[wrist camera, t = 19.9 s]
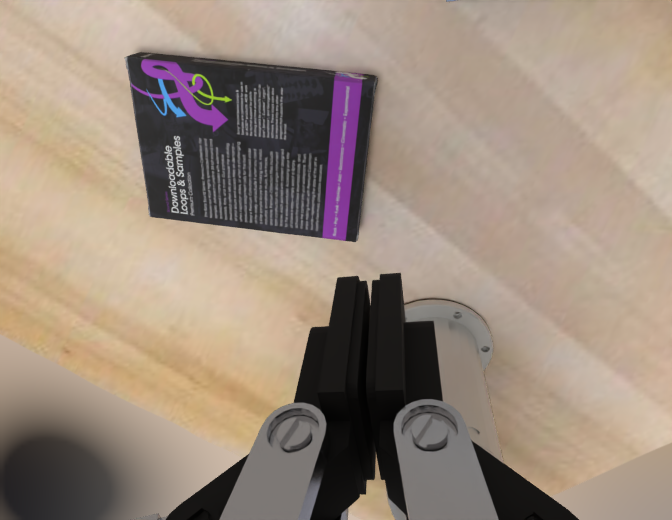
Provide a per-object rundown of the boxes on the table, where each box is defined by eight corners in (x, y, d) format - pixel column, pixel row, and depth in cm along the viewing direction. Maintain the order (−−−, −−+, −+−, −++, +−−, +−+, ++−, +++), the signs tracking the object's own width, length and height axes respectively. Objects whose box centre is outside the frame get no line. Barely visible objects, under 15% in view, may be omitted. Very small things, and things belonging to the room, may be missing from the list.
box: (378, 73, 38) (140, 47, 38) (378, 81, 35) (119, 53, 35) (359, 225, 45) (159, 203, 45) (357, 244, 42) (144, 219, 42)
